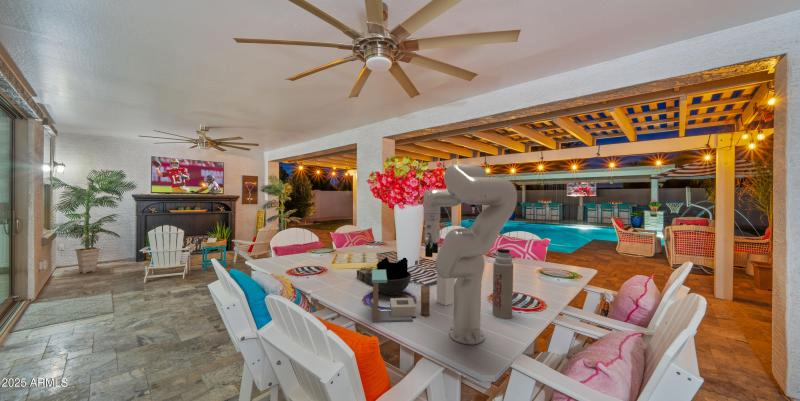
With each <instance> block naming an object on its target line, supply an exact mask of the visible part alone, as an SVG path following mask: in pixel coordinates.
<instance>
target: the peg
mask: <svg viewBox="0 0 800 401" xmlns="http://www.w3.org/2000/svg"><path fill="white" fill-rule="evenodd" d="M430 287H431V286H430V285H421V287H420V316H422V317H424V318H425V317H430V295H431V292H430V291H431V290H430V289H431V288H430Z"/></svg>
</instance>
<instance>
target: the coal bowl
mask: <svg viewBox="0 0 800 401" xmlns="http://www.w3.org/2000/svg"><path fill="white" fill-rule="evenodd" d="M408 263H409V261H408V258H407V257H403V258H402V259H400V260H399V259H398V261H397V262H390V260H389V258H388V257H387V256H386V257H385V258H382V259H381V260H380V261H378V262H377V263H376V265H375V266H376V270H386V275H387V283H378V292H380V293H383V294H384V295H387V294H388V295H389V296H395V295H399V294H401V293H403V292H404V291H406V289H407V287H408V286H409V284H410V282H411V278H412V274H411V272H409V271H408V268H409V267H408V266H409V265H408ZM398 293H399V294H398ZM394 294H395V295H394ZM388 295H387V296H388Z"/></svg>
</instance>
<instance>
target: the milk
mask: <svg viewBox="0 0 800 401" xmlns="http://www.w3.org/2000/svg"><path fill="white" fill-rule="evenodd" d="M455 282H456V278H443V277H441V276H439V274H438V273H437V272H436V303H439V304H441V305H443V306H446V307H447V306H449V305H454V286H455Z"/></svg>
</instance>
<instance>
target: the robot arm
mask: <svg viewBox="0 0 800 401" xmlns="http://www.w3.org/2000/svg"><path fill="white" fill-rule="evenodd" d="M443 179H444V184H445V186H446V188H433V189H426V190H425V191H423V221H425V222H424V242H425V243H424V244H425V245H424V252H425V253H424V255H425V256H424V257H425V258H433V256H434V254H437V255H436V257H435V258H436V260H435V270H436V274H437V273H438V274H439V276H441V277H443V278H455V286H454V303H453V320H452V321H453V326H452V327H450V328H449V330H448V335H449V337H450V339H452V340H453V341H455V342H456V343H460V344H465V345H478V344H481V343H482V342H483V341H484V340H485V337H486V336H485V333H484V332H483V330H481V304H482V297H481V296H482V281H483V275H484V274H483V273H484V270H485V259H484V255H486V254H488V252H489V251H490V250H491V248H492V247H493V245H494V243H495V241H496V240H497V237H499V235H500V233H501V231H502V229H503V227H504V226H505V225H506V223H507V222H508V221H509V219H510V218H511V217H512V215H513V214H514V211H515V209H516V207H517V203H518V202H517V201H518V193H517V188H516V187H515V184H514V183H513V182H512V181H510V179H509V180H508V179H506V178H502V177H491V176H490V177H488V175H487V171H486V169H484V168H483V166H481V165H477V164H470V163H469V164H468V163H465V164H464V163H463V164H462V163H454V164H450V165H449V166H447V168H446V169H445V171H444V174H443ZM463 203H464V204H466V205H488V206H487V207H485V208H484V209H483V210H482V211H480V213H479V214H477V216H476V218H475V220H474V222H473V224H472V225H471V226H469V227H466V228H465V227H464V228H463V227H461V228H454V229H451V230H449V231H448V232H447V233H446V235H445V236H444V238H443V240H442V243H441V246H440V248H439V241H440V240H441V233H440V232H441V230H440V221H441V208H442V207H443V208H446V207H452V208H453V207H457V206H459V205H461V204H463Z"/></svg>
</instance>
